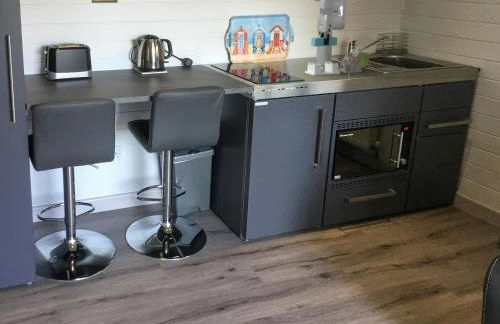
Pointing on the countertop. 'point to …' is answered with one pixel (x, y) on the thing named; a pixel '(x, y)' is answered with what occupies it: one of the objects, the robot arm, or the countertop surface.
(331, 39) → the teal rectangular stick
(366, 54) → the plant pot
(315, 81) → the countertop surface
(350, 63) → the grey irregular blocky piece
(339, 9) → the robot arm
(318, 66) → the display cradle
